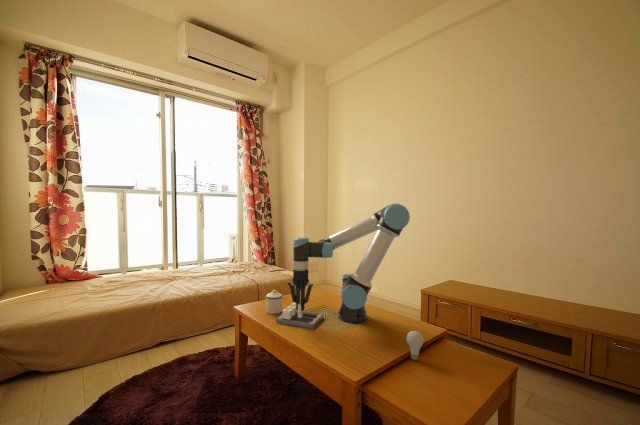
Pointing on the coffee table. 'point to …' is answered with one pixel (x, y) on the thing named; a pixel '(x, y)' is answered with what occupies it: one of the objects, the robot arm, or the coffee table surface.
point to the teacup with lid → (273, 302)
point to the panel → (302, 320)
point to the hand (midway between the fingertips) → (300, 316)
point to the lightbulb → (414, 343)
